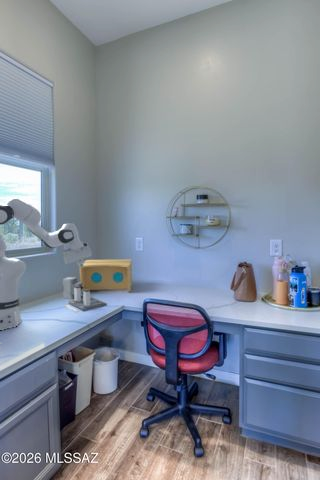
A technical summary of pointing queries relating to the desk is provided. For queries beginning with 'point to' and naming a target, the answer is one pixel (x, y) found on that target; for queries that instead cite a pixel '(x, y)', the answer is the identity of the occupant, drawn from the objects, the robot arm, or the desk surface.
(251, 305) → the desk surface
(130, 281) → the cardboard box
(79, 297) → the toggle rear
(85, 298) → the toggle front
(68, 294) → the circuit breaker
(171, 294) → the desk surface
